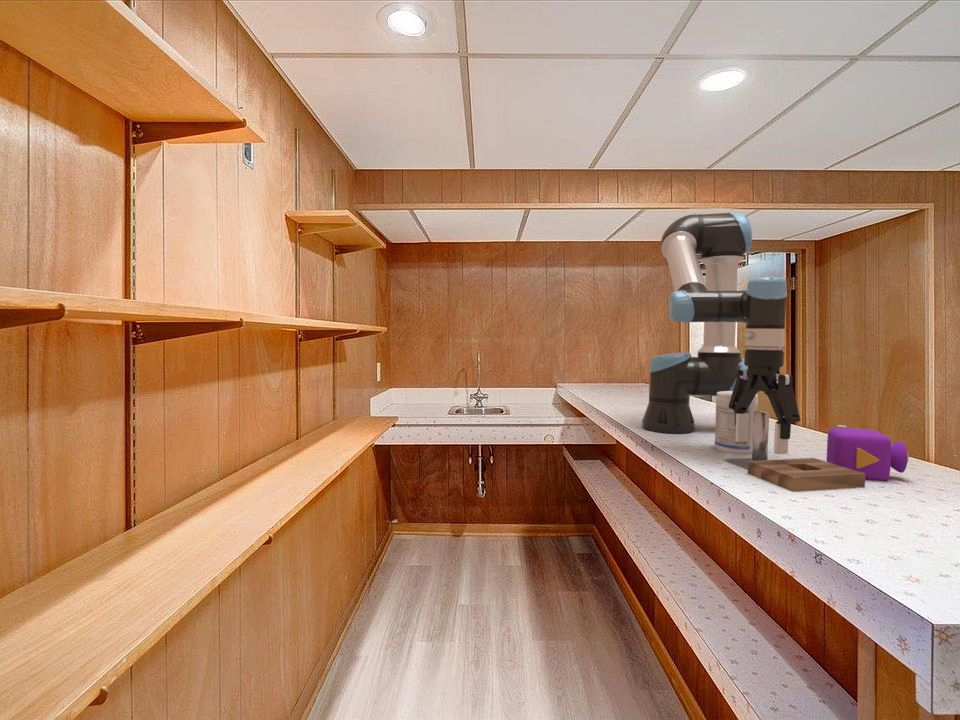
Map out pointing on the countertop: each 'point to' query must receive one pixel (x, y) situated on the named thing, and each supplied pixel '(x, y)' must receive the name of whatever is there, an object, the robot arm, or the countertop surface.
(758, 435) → the peg
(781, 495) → the countertop surface
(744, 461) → the mat
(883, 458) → the toy camera
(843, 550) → the countertop surface
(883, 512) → the countertop surface
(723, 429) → the supplement tub
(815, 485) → the socket block
